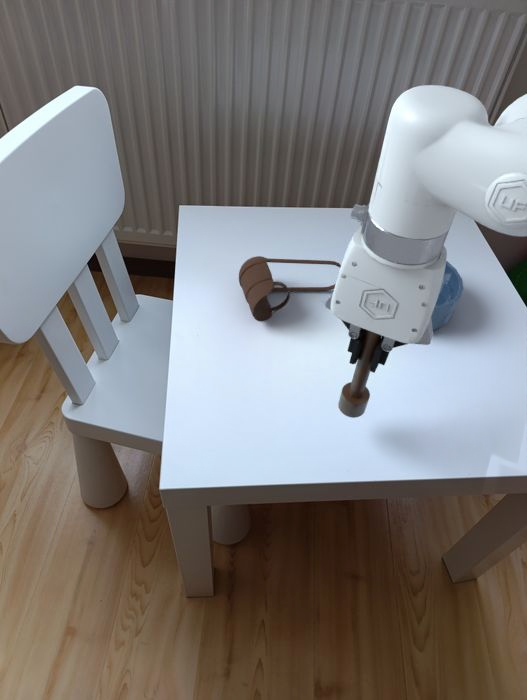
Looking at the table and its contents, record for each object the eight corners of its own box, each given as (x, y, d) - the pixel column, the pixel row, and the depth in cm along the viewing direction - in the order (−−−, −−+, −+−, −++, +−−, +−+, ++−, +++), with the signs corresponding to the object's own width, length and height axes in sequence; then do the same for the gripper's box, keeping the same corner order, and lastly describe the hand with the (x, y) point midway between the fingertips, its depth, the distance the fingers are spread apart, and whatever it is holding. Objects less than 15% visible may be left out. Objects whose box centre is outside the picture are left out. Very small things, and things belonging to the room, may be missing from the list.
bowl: (459, 292, 96) (471, 266, 92) (439, 347, 87) (451, 321, 82) (379, 264, 100) (387, 237, 95) (351, 314, 91) (358, 287, 86)
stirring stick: (369, 402, 71) (395, 323, 60) (360, 421, 69) (386, 343, 58) (343, 391, 72) (365, 312, 61) (334, 411, 70) (354, 332, 59)
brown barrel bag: (249, 328, 87) (251, 297, 81) (233, 281, 94) (235, 249, 89) (352, 314, 91) (361, 283, 85) (330, 269, 98) (336, 239, 93)
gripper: (310, 226, 50) (292, 356, 63) (481, 283, 46) (422, 409, 59) (339, 188, 54) (316, 317, 68) (496, 237, 50) (438, 363, 64)
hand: (366, 359), depth 64 cm, fingers closed on stirring stick
